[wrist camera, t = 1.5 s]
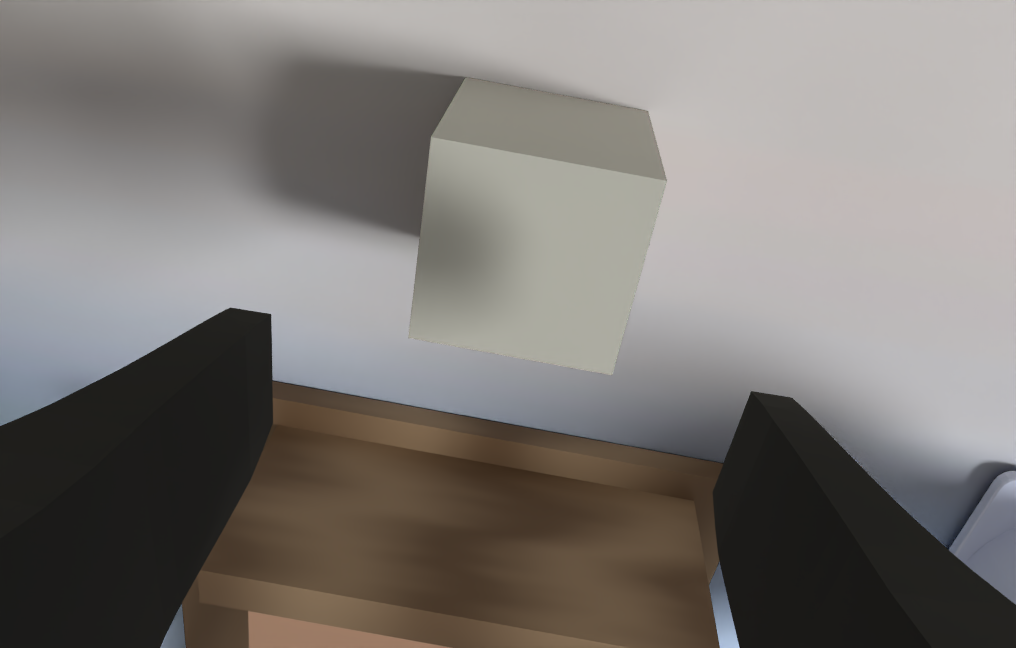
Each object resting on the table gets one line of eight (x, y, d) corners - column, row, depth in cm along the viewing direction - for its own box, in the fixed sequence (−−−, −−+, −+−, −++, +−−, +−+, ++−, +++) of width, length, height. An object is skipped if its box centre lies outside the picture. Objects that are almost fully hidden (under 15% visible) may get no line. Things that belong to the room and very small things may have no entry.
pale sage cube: (647, 110, 19) (667, 181, 14) (606, 272, 21) (611, 375, 17) (466, 76, 19) (431, 137, 14) (444, 243, 21) (408, 337, 17)
